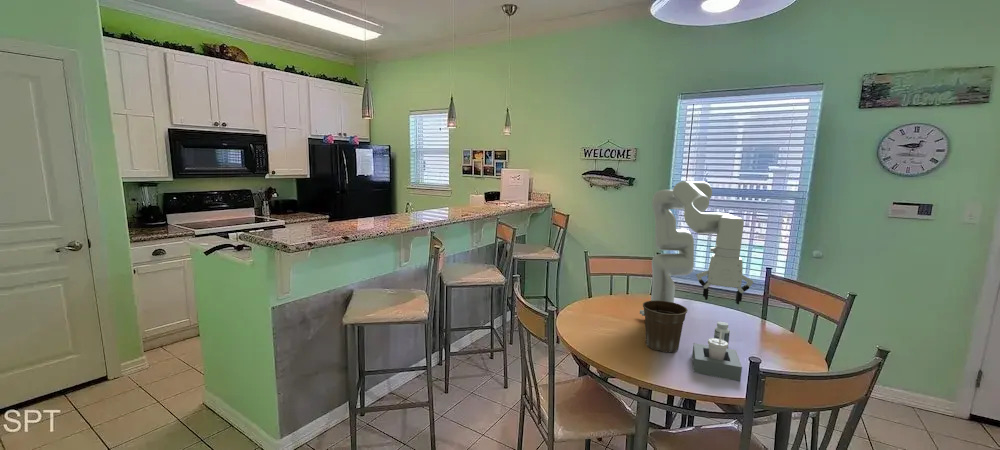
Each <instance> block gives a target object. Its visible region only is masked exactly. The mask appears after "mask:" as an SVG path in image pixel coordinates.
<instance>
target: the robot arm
mask: <svg viewBox="0 0 1000 450" xmlns="http://www.w3.org/2000/svg"><path fill="white" fill-rule="evenodd" d="M712 196H713V188H712V186H711V185H710V184H709V183H708V182H706V181H700V180H699V181H697V180H696V181H695V180H685V181H679V182H678V183H676V184H675V185H674V187H673V188H672V189H661V190H657V191H656V192H655V193H654V194H653V198H652V201H651V202H652V203H651V204H652V205H651V207H652V211H653V215H654V219H655V220H654V221H655V227H654V228H655V230H654V231H655V233H654V234H655V237H654V238H655V239H654V240H655V245H656V246H655V247H656V248H657V250H660V251H668V252H669V251H671V252H672V251H674V252H677V251H678V253H657V254H656V255H653V257H652V259H651V270H652V285H651V297H650V301H654V300H658V301H668V302H673V303H675V294H676V293H675V291H676V285H675V282H674V281H673V279H672V277H671V276H689V275H691V274H692V272H693V271H694V268H695V267H694V266H695V263H694V262H695V258H694V257H695V256H694V255H695V250H694V249H695V248H694V247H695V244H694V242H695V241H694V236H693V234H692V233H691V231H689V230H688V229H682V228H681V229H677V226H676V225H677V220H676V219H677V218H676V216H675V214H674V213H673V212H672V211H671V210H684V211H683V217H684V222H685V224H686V225H687V226H688V228H689V229H691V230H692V231H693V232H694V233H697V234H699V235H700V234H702V235H716V238H715V245H714V247H710V249H709V251H710V252H712V253H713V254H712V256H711V258H710V261H709V265H708V270H705V271H702V272H699V273H696V274H695V275H696V278H697V280H698V283H699V284H700V285H701V286H702V288H703V291H702V297H704V300H705V301H707V300H708V298H709V287H710V286H717V287H725V288H732V289H733V288H734V289H737V291H736V293H735V304H736V305H740V302H741V303H742V300H743V299H742V298H743V294H744V293H745V292H746V291H748V290H749V289H750V288H751V286H753V284H754V281H753V280H752V278H749V277H747V276H746V275H744V274H743V271H744V270H743V267H744V265H743V258H742V257H741V250H742V249H741V247H742V242H743V241H742V240H743V232H744V226H745V225H744V224H745V223H744V222H745V221H744V219H743V218H742V217H739V216H734V215H732V214H730V213H727V212H706V211H707V209H708V208H709V206H710V205H709V204H710V199H711V198H712ZM703 277H707V280H706V281H704V279H702V278H703ZM743 281H744V282H746V284H744V285H743V286H742V282H743ZM639 314H640V315H641V316H643V317H645V315H644V309H639Z"/></svg>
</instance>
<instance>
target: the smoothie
mask: <svg viewBox="0 0 1000 450" xmlns="http://www.w3.org/2000/svg"><path fill="white" fill-rule="evenodd" d="M721 336H722V330H720V338H719V339H717V338H714V337H710V338H708V340H707V345H708V346H709V358H714V359H719V360H724V356H725V353H726V349H728V347H729V344H728V343H727V342H726V341H724V340H722V339H721Z"/></svg>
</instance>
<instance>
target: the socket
mask: <svg viewBox="0 0 1000 450" xmlns="http://www.w3.org/2000/svg"><path fill="white" fill-rule="evenodd" d="M691 356H692V364H693V365H692V366H693V373H695V374H701V375H706V376H711V377H716V378H722V379H725V380H732V381H736V380H738V381H737V382H741V379H742V378H741V377H742V372H743V371H742V369H743V366H742V363H741V361H740V358H739V355H738V352H737V349H731V348H727V349H726V353H725V356H724V360H719V359H714V358H709V344H702V343H696V342H693V347H692V354H691Z"/></svg>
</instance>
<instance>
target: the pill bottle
mask: <svg viewBox="0 0 1000 450" xmlns="http://www.w3.org/2000/svg"><path fill="white" fill-rule="evenodd" d="M720 330H722V336H721V339H722V340H724V341H726V342H727V343H728V345H729V344H730V343H729V341H730V329H729V323H728V322H724V321H717V323H716V326H715V328H714V334H713V338H717V339H719V338H720Z"/></svg>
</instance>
